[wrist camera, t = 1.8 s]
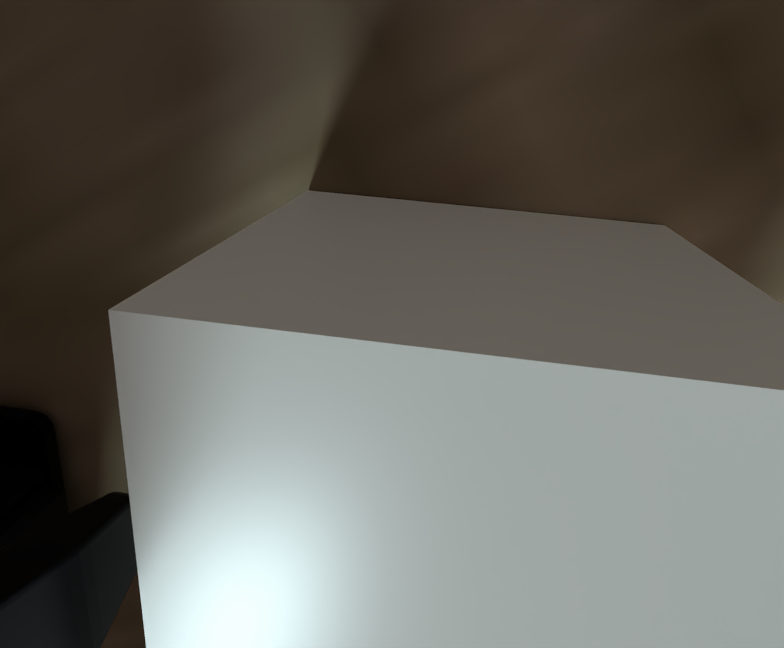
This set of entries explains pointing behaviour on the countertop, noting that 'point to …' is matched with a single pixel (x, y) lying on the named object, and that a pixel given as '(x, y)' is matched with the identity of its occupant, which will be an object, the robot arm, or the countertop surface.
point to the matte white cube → (453, 435)
